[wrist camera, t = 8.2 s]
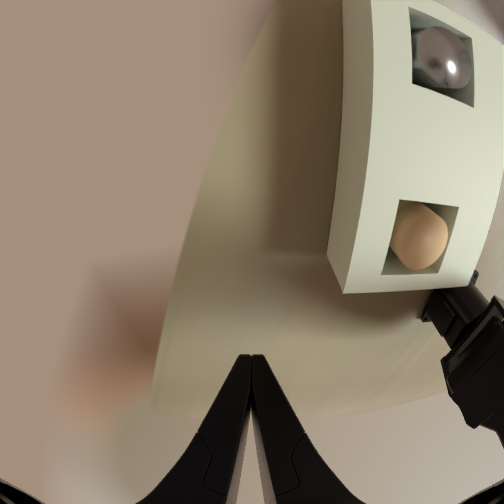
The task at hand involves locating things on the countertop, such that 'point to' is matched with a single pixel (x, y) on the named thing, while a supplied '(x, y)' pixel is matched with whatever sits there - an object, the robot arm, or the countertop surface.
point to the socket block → (413, 147)
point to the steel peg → (439, 59)
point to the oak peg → (417, 235)
